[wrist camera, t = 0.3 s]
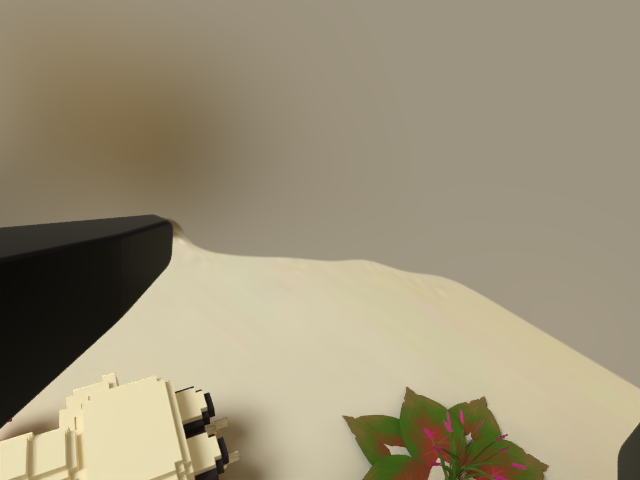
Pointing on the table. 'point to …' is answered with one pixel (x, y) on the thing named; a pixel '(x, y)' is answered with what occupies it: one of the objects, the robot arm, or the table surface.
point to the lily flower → (441, 443)
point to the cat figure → (124, 436)
